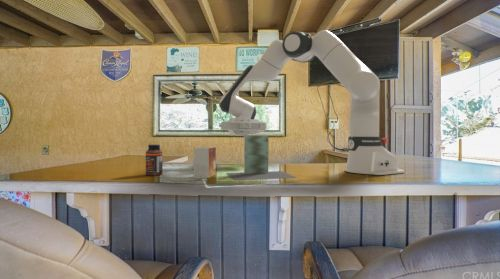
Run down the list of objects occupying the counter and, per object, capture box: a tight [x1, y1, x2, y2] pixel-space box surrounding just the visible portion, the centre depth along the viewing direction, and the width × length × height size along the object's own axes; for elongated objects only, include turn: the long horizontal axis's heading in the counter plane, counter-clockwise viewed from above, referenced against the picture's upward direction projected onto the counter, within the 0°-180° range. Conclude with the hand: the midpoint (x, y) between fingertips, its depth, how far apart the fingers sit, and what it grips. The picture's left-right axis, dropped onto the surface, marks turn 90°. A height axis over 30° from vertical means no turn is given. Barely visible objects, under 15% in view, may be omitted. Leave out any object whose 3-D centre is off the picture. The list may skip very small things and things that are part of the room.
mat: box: [225, 170, 298, 181], centre depth 100 cm, size 22×16×1 cm
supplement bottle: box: [145, 143, 163, 177], centre depth 105 cm, size 6×6×11 cm
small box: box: [193, 146, 217, 180], centre depth 99 cm, size 8×6×10 cm
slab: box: [243, 135, 269, 174], centre depth 105 cm, size 9×1×14 cm, turn 104°
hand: (247, 125), depth 117 cm, fingers closed
